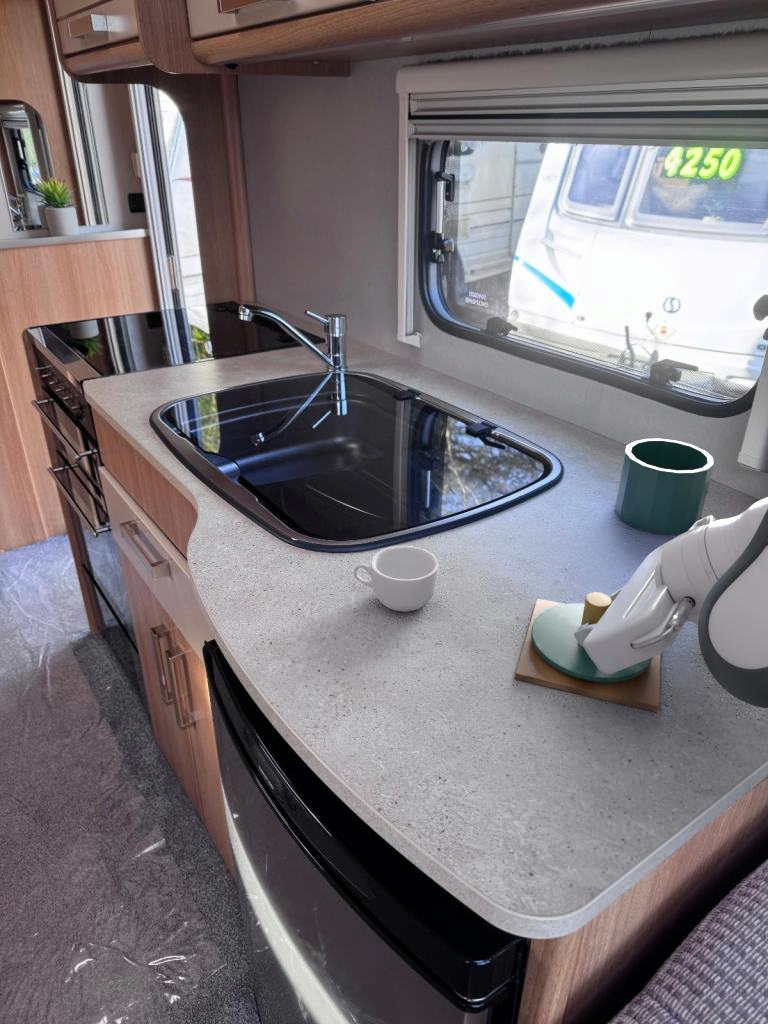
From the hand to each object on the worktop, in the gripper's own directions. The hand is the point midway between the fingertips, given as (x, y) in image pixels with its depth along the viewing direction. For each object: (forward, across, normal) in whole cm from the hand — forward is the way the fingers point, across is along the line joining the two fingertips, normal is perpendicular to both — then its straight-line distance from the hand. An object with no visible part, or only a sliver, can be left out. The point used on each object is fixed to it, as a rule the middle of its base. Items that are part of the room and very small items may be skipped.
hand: (589, 624), depth 76 cm
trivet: (+2, 0, -3) cm, 4 cm away
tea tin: (+5, +35, 0) cm, 36 cm away
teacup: (+18, -4, +13) cm, 23 cm away
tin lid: (+1, 0, -2) cm, 2 cm away
